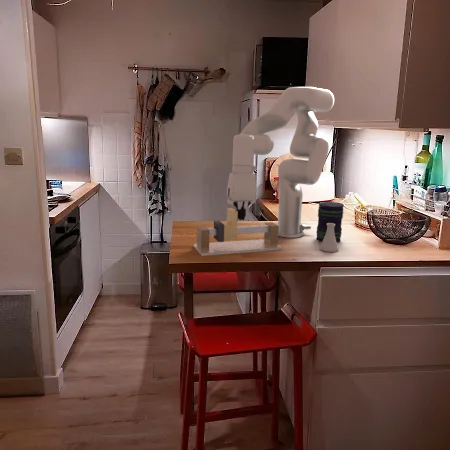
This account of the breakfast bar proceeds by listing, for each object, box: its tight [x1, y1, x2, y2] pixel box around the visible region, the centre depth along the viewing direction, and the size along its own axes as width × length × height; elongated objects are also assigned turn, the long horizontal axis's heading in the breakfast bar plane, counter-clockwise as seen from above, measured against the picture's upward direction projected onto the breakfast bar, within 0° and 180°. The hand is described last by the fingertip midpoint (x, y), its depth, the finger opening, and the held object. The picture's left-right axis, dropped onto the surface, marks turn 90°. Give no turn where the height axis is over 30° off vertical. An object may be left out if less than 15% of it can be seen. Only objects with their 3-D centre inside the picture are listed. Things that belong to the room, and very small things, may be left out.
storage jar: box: [315, 201, 345, 244], centre depth 178 cm, size 10×10×15 cm
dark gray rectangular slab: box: [213, 220, 225, 242], centre depth 162 cm, size 2×6×6 cm, turn 19°
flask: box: [319, 223, 339, 253], centre depth 166 cm, size 7×7×10 cm
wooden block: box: [220, 207, 238, 241], centre depth 162 cm, size 5×6×11 cm
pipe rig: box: [193, 221, 283, 257], centre depth 165 cm, size 31×12×8 cm, turn 108°
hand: (240, 219), depth 163 cm, fingers closed
